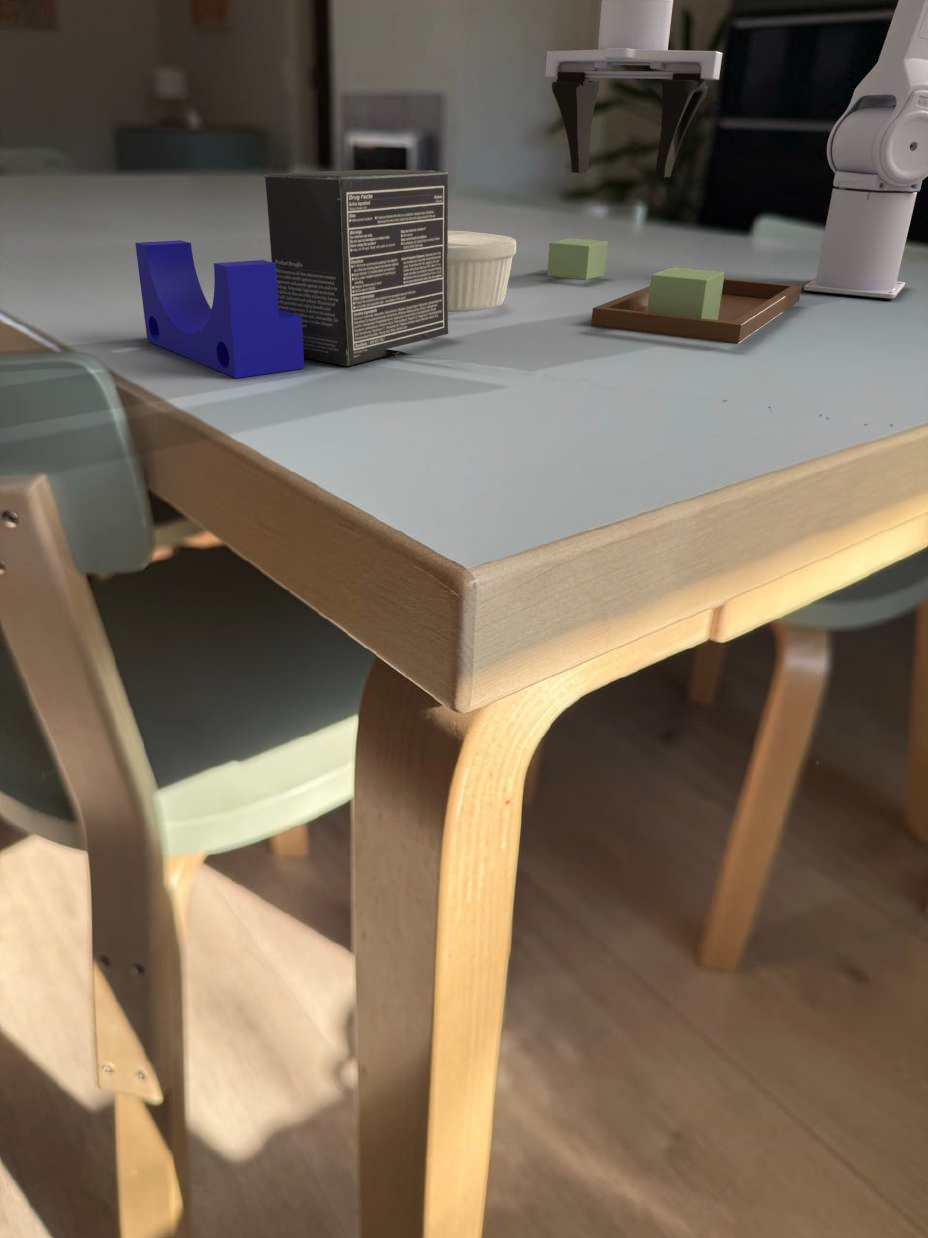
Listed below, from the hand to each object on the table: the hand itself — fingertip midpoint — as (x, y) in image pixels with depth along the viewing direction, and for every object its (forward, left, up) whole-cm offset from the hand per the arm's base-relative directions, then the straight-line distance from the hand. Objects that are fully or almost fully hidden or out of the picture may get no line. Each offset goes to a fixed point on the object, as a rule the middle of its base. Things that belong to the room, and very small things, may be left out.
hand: (620, 174), depth 83 cm
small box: (+34, -5, -10) cm, 35 cm away
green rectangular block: (+16, +11, -9) cm, 21 cm away
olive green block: (-3, -5, -10) cm, 11 cm away
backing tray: (+10, +11, -10) cm, 18 cm away
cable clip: (+41, -11, -10) cm, 43 cm away
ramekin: (+18, -8, -10) cm, 22 cm away
